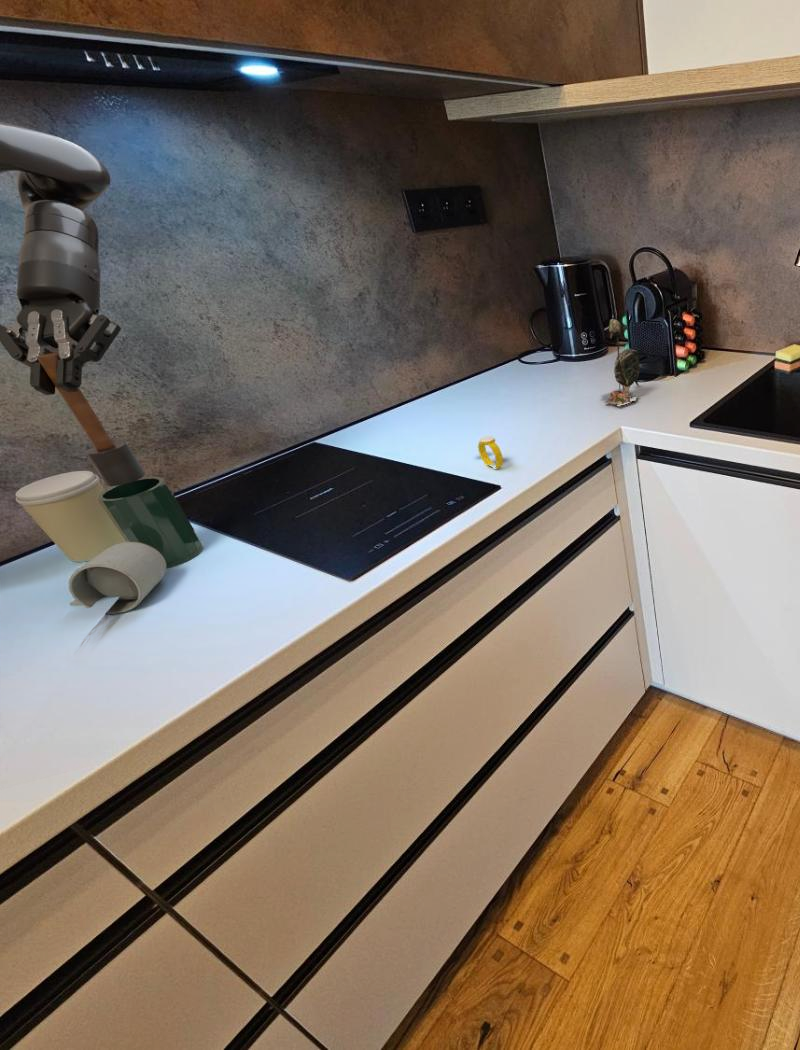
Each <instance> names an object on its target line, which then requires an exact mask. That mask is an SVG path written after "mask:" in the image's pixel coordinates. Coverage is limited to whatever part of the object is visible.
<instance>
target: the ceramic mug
mask: <svg viewBox="0 0 800 1050" xmlns="http://www.w3.org/2000/svg"><path fill="white" fill-rule="evenodd" d="M166 571H167V568H166V561H165V559H164V557H163V556H162V554H161V553H160V552H159V551H158V550H156V549H155V548H153V547H151V546H149V545H146V544H144V543H140V542H124V543H120V544H116V545H114V546H112V547H109V548H108V549H106V550H105V551H103V552H101V553H100V554H99V555H98V556H96V557H95V558H93V559H92V560H90V561H87V562H85V563H84V564H83V565H82V566H80V567H78V568H77V569H76V570H75V571H73V573H72V574H71V575H70V577H69V579H68V592H69V593H70V595H71V596H72V598H73V599H74V600H73V601H71V602H70V603H69V605H70V606H73V607H85V608H86V609H91V608H92V607H93V606H94V605H95V604H96V603H97V602H98V601H99V600H100V599H101V598H102V597H103V596H104V597H107V598H118V599H116V601H115V602H113V604H112V605H111V607H110V608H109V609H108V610H107V611H106V612H105V614H112V615H113V614H114V615H115V614H122V613H126V612H129V611H131V610H133V609H134V608H137V606H138V605H139V604H140V603H141V602H142V601H143V600H144V599H145V598H146V597H147V596H148V595H149V594H150V593H151V591H152V590H154V588H155V587H156V586H157V585H158V584H159V583H160V582H161V580H162V579H163V577H164V576H165V574H166Z"/></svg>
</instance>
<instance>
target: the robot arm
mask: <svg viewBox="0 0 800 1050" xmlns="http://www.w3.org/2000/svg"><path fill="white" fill-rule="evenodd" d="M11 171H12V172H13V171H15V172H16V171H18V176H17V183H16V184H17V192H18V196H19V199H20V202H21V206H22V207H21V208H22V209H23V212H24V214H25V215H24V220H23V221H24V223H23V237H22V243H21V246H20V249H19V254H18V270H17V285H16V286H17V287H16V288H17V289H16V297H17V299H18V302H19V304H20V307H21V309H20V311H19V313H18V314H17V316H16V322H13V323H12V324H10V325H8V326H4V325H3V324H0V343H1V345H2V346H3V347H4V349H5V350H6V351H7V353H8V354H9V356H10V357H11V358H12V359H13V360H15V361H16V362H19V363H21V364H23V365H24V366H27V367H28V368H30V371H29V372H30V373H29V385H30V386H31V387H32V388H33V389H34V390H35V391H37V392H39V393H41V394H43V395H45V396H51V395H55V394H56V387H55V385H54V384H53V382H52V380H51V379H50V377H49V376H48V374H47V373H46V371H45V370H44V368H43V367H42V365H41V363H40V362H39V360H38V359H37V357H36V356H39V355H42V354H48V353H57V354H58V355H59V357H60V358H61V360H57V380H56V383H57V385H58V387H60V388H62V389H63V390H65V391H67V392H77V391H78V387H79V388H80V387H81V385H82V378H83V376H82V375H83V368H85V366H86V364H87V363H89V362H93V363H98V362H100V361H101V360H102V358H103V356H104V355H105V354H106V352H107V351H108V349H109V348H110V346H111V345H112V343H113V342H114V341H115V339H116V338H117V336H118V335H119V333H120V332H121V330H122V327H121V326H120V325H119V324H118V323H116V322H115V321H114V320H112V319H111V318H109V317H108V316H106V315H105V314H100V310H101V309H100V308H101V307H100V306H101V304H100V303H101V267H100V261H99V249H100V248H99V244H100V241H99V240H100V235H99V230H98V225H97V223H96V221H95V220H94V219H93V218H92V217H91V215H90V214H88V213H87V209H88V208H89V207H90V206H91V205H92V204H93V203H94V202H95V201H97V200H98V199H99V198H100V197H102V196H103V195H104V194H106V192H107V191H108V189H109V188H110V186H111V176H110V173H109V171H108V170H107V168H106V167H105V165H104V164H103V163H102V162H101V161H100V160H99V159H98V158H97V157H96V156H95V155H93V154H92V153H91V152H90V151H88V150H87V149H85V148H83V147H82V146H80V145H78V144H76V143H75V142H72V141H70V140H67V139H65V138H62V137H59V136H57V135H53V134H50V133H46V132H43V131H39V130H35V129H32V128H27V127H23V126H21V125H17V124H13V123H8V122H4V121H0V174H3V173H6V172H11ZM94 344H95V345H94ZM93 345H94V346H93ZM92 346H93V348H92ZM91 348H92V349H91Z"/></svg>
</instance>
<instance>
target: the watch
mask: <svg viewBox="0 0 800 1050" xmlns="http://www.w3.org/2000/svg"><path fill="white" fill-rule="evenodd" d="M477 445H478V446H477V448H478V453H479V456H480V459H481V460H482V462H483V463H484V465H485V466H486V465H489V466H490V465H491V464H492V465H493V464H496V467H495V468H498V469H500V468H502V466H503V465H504V457H503V453H502V451H501V449H500V447H499V445H498V444H497V443H496V438H495V436H493V435H492V436H491V435H487V436H483V437H481V438H480V439H479V441H478V444H477ZM486 446H488V447H489V448H490V450H491V452H492V453H493V455H494V458H495V462H493V461H492V459H491V458H490V457H489V454H488V452H487V448H486ZM489 466H488V467H489ZM499 467H500V468H499Z"/></svg>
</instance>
